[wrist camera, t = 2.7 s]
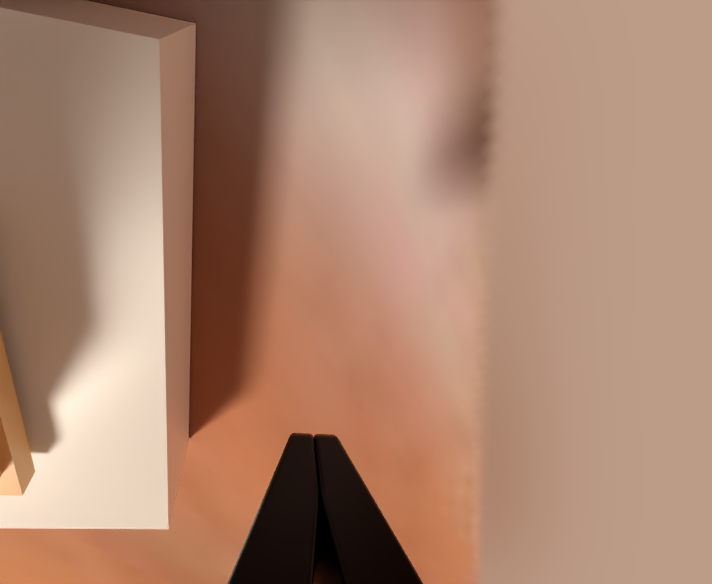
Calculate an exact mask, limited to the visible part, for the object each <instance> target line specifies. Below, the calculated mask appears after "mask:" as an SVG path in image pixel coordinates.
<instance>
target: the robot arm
mask: <svg viewBox="0 0 712 584" xmlns="http://www.w3.org/2000/svg"><path fill="white" fill-rule="evenodd" d="M228 584H423V583H422V581H421V579H420V577H419V576H418V574H417V572H416V571H415V569H414V567H413V565H412V564H411V562H410V560H409V559H408V557H407V555H406V553H405V552H404V550H403V548H402V547H401V545H400V543H399V542H398V540H397V538H396V536H395V535H394V533H393V531H392V530H391V528H390V526H389V524H388V523H387V521H386V519H385V518H384V516H383V514H382V512H381V511H380V509H379V507H378V506H377V504H376V502H375V500H374V499H373V497H372V495H371V494H370V492H369V490H368V488H367V487H366V485H365V483H364V482H363V480H362V478H361V477H360V475H359V473H358V471H357V470H356V468H355V466H354V465H353V463H352V461H351V459H350V458H349V456H348V454H347V453H346V451H345V449H344V447H343V446H342V444H341V442H340V441H339V439H338V438H337V437H336V436H335V435H327V434H316V435H315V436H314V437H313V435H311V434H305V433H293V434H291V435H290V437H289V439H288V442H287V444H286V446H285V449H284V451H283V453H282V456H281V458H280V461H279V463H278V465H277V468H276V470H275V472H274V475H273V477H272V479H271V482H270V484H269V487H268V489H267V491H266V494H265V496H264V498H263V501H262V503H261V506H260V508H259V510H258V513H257V515H256V517H255V520H254V522H253V525H252V527H251V529H250V532H249V534H248V536H247V539H246V541H245V543H244V546H243V548H242V551H241V553H240V555H239V558H238V560H237V562H236V565H235V567H234V570H233V572H232V574H231V577H230V579H229V581H228Z"/></svg>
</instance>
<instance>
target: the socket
mask: <svg viewBox="0 0 712 584" xmlns="http://www.w3.org/2000/svg"><path fill="white" fill-rule="evenodd" d="M195 52H196V23H192V22H187V21H182V20H178V19H173V18H168V17H163V16H159V15H154V14H149V13H144V12H139V11H135V10H130V9H125V8H120V7H116V6H111V5H106V4H101V3H96V2H92V1H87V0H0V331H1V335H2V339H3V343H4V347H5V351H6V355H7V359H8V363H9V367H10V371H11V375H12V379H13V383H14V387H15V391H16V395H17V399H18V403H19V408H20V412H21V416H22V420H23V424H24V428H25V432H26V436H27V440H28V444H29V448H30V452H31V456H32V460H33V464H34V468H35V473H34V475H33V477H32V479H31V481H30V483H29V485H28V486H27V488H26V490H25V492H24V494H23V496H16V495H0V528H52V529H169V525H170V520H171V516H172V511H173V507H174V503H175V498H176V494H177V489H178V485H179V481H180V476H181V472H182V467H183V463H184V459H185V454H186V450H187V445H188V441H189V394H190V337H191V280H192V223H193V166H194V109H195Z"/></svg>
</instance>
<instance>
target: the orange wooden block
mask: <svg viewBox="0 0 712 584" xmlns="http://www.w3.org/2000/svg"><path fill="white" fill-rule="evenodd" d="M34 473H35V468H34V464H33V460H32V456H31V452H30V448H29V444H28V440H27V436H26V432H25V428H24V424H23V420H22V416H21V412H20V408H19V403H18V399H17V395H16V391H15V387H14V383H13V379H12V375H11V371H10V367H9V363H8V359H7V355H6V351H5V347H4V343H3V339H2V335H1V331H0V495H16V496H23V494H24V492H25V490H26V488H27V486H28V485H29V483H30V481H31V479H32V477H33V475H34Z"/></svg>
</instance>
